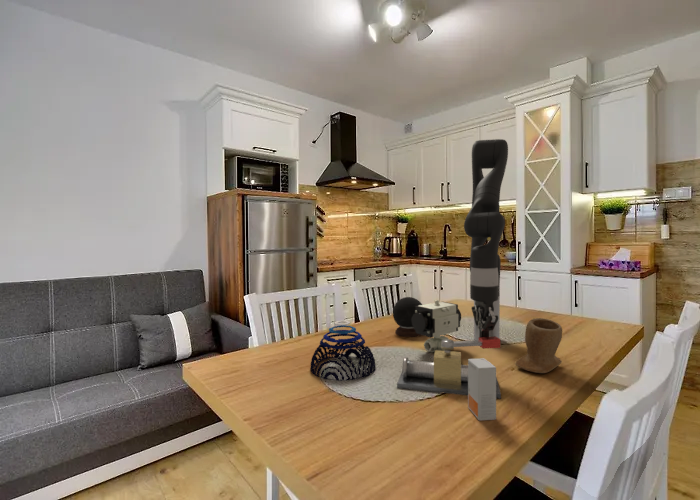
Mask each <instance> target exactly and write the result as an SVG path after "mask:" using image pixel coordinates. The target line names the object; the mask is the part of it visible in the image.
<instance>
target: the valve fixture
mask: <svg viewBox="0 0 700 500" xmlns="http://www.w3.org/2000/svg"><path fill="white" fill-rule="evenodd" d="M401 369H402V371H401V373H400V375H399V378H398V380H397V383H396V388H397V389H404V390H413V391H421V392H423V391H424V392H433V393H440V392H444V393H443V394H449V395H450V394H451V395H459V396H460V395H462V396H468V364H462V352H461V351H452V350H445V351H440V350H435V352H434V354H433V361H425V360H423V361H422V360H410V359H409V358H408V357H403V360H402V368H401ZM497 399H498V400H501V399H502V394H501V390H500V385H499V382H498V377H497V376H496V400H497Z"/></svg>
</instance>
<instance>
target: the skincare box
mask: <svg viewBox="0 0 700 500" xmlns="http://www.w3.org/2000/svg"><path fill="white" fill-rule="evenodd" d="M467 365H468V395H467V408H468V409H469V410H470V412H471V413H472V414H473V415H474V416H475V418H476V419H477V420H478V421H479V422H480V421H493V420H497V399H496V377H497V367H496V366H495V364H492V362H490V361H489V360H487V359H486V358H484V357H481V358H468V359H467Z"/></svg>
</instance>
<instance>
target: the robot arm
mask: <svg viewBox="0 0 700 500" xmlns="http://www.w3.org/2000/svg"><path fill="white" fill-rule="evenodd" d="M508 157H509V144H508V142H507V140H506V139H501V138H495V139H494V138H493V139H480V140H479V139H478V140H476V141H474V142H473V144H472V147H471V174H472V176H471V177H472V178H471V179H472V197H471V198H472V199H471V208H470V210H469V211H468V213H467V215H466V217H465V219H464V223H463V229H464V230H463V231H464V232H465V234H466V235H467V236H468V237H469V238H471V244H470V246H471V247H470V255H469V272H470V273H469V275H470V276H469V287H470V289H469V292H470V293H469V294H470V295H469V296H470V299H471V301H473V306H471V312H472V315H473V340H479V337H494V336H496V337H498V338H499V339H500V331H501V329H500V327H501V325H500V324H501V323H500V314H501V313H500V312H501V311H500V290H501V289H500V288H501V287H500V285H501V284H500V281H501V265H502V263H501V257H500V255H499V246H500V242H501V238H502V236H503V232H504V229H505V225H506V221H505V217H504V215H503V214H502V213H501V212H500V209H501V207H500V199H501V198H500V197H501V187H502V182H503V180H504V176H505V172H506V168H507V163H508ZM483 169H484V170H485V169H487V170H488V169H491V170H490V171H489V173H487V174H486V175H485V176H484V173H483ZM489 238H490V240H489V242H487V243H486V244H485V242H486V241H487V239H489Z"/></svg>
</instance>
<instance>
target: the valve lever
mask: <svg viewBox="0 0 700 500" xmlns="http://www.w3.org/2000/svg"><path fill="white" fill-rule="evenodd" d="M462 347H463V348H465V347H480V348H481V349H500V348H501V338H500V337H499V338H498V337H496V336H494V337H479V340H474V339H473V340H456V341H454V340H453V339H450V338H448V339H443V340H442V349H444V350H451V351H452V350H454V349H455V348H462Z"/></svg>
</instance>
